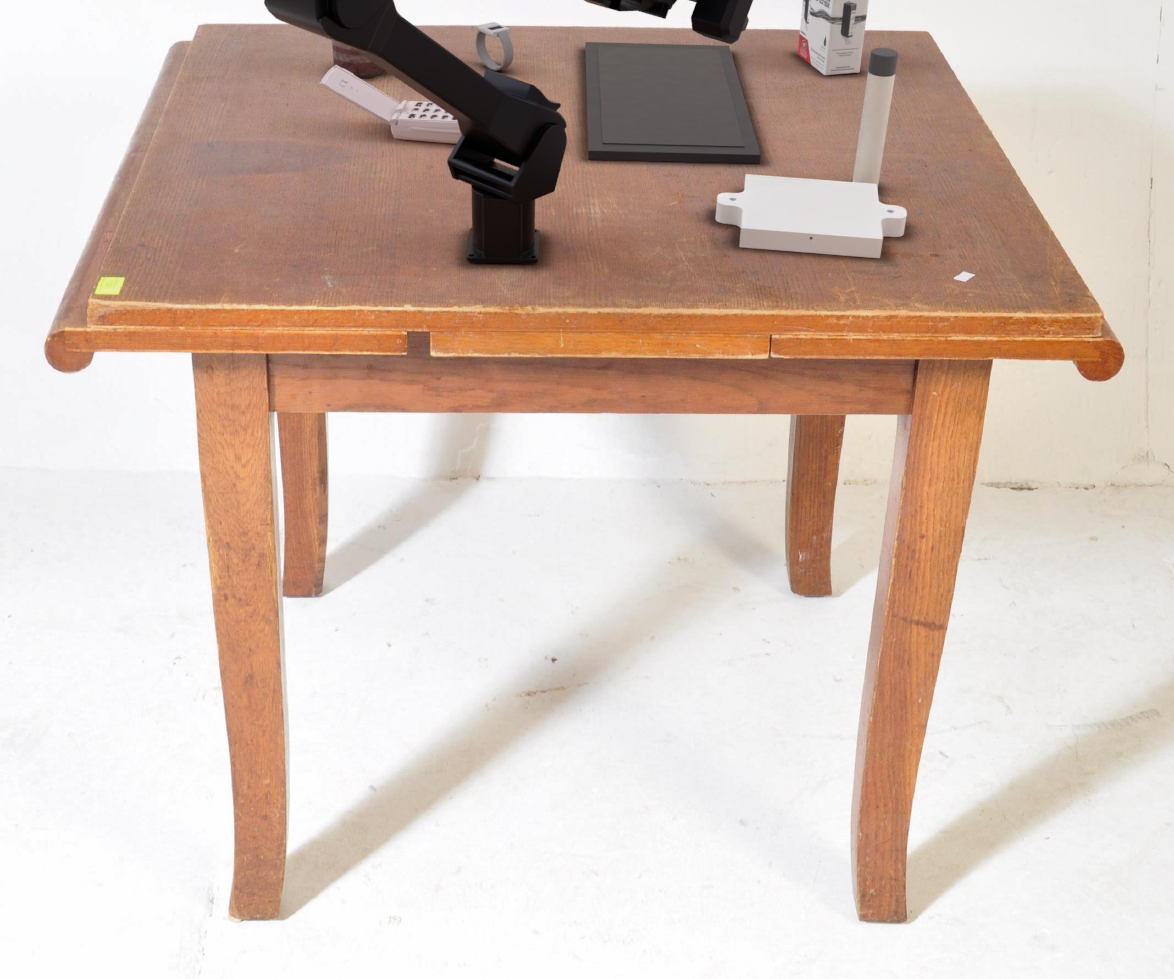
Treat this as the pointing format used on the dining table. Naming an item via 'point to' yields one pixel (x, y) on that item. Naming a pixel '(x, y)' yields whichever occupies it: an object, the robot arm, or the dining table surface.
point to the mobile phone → (395, 109)
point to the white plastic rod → (875, 115)
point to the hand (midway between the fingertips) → (708, 14)
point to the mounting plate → (811, 216)
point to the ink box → (833, 34)
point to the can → (354, 61)
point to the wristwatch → (503, 34)
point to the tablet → (666, 104)
